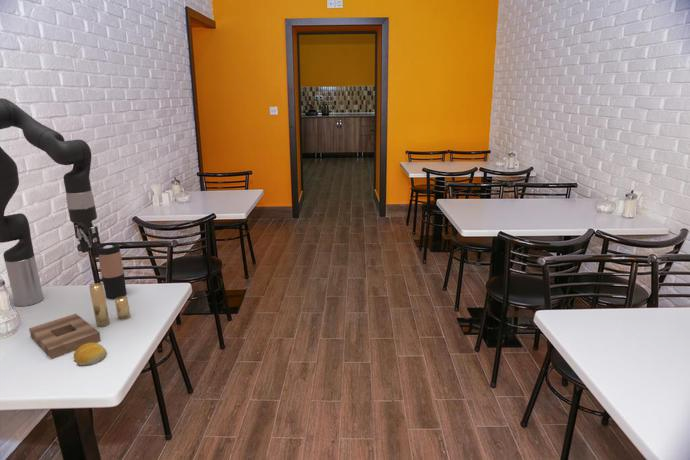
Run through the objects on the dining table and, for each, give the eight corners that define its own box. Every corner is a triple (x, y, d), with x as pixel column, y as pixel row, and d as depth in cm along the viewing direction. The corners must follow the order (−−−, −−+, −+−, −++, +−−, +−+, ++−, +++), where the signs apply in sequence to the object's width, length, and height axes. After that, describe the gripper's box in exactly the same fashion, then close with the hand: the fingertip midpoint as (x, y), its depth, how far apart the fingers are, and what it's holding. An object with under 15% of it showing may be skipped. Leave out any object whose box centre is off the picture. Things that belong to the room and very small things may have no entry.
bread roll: (80, 370, 138) (77, 357, 137) (72, 357, 145) (69, 345, 144) (110, 359, 144) (108, 346, 142) (102, 347, 150) (99, 335, 149)
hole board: (30, 336, 157) (28, 328, 157) (77, 321, 167) (75, 313, 166) (51, 358, 144) (49, 349, 143) (100, 340, 154) (99, 332, 153)
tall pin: (94, 324, 164) (87, 285, 160) (106, 320, 167) (100, 282, 163) (99, 328, 162) (92, 289, 158) (111, 324, 165) (104, 285, 161)
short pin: (115, 317, 169) (112, 298, 167) (127, 313, 172) (124, 295, 170) (120, 321, 167) (117, 302, 165) (132, 317, 169) (129, 298, 167)
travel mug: (100, 298, 185) (91, 247, 180) (116, 290, 192) (108, 241, 187) (116, 300, 183) (107, 249, 177) (131, 292, 189) (123, 243, 184)
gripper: (60, 204, 155) (70, 253, 160) (76, 211, 146) (86, 262, 150) (85, 200, 160) (94, 247, 165) (102, 206, 151) (111, 256, 155)
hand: (90, 254), depth 158 cm, fingers open, 8 cm apart
